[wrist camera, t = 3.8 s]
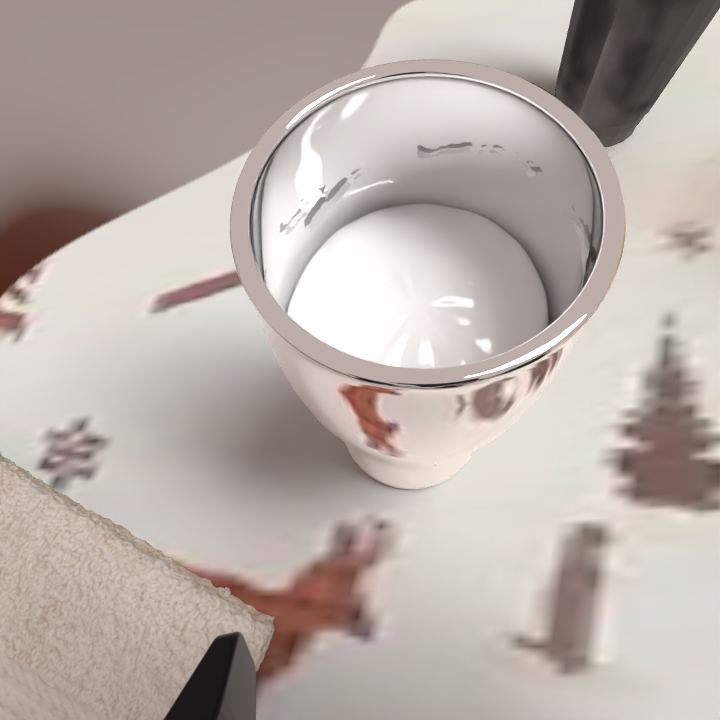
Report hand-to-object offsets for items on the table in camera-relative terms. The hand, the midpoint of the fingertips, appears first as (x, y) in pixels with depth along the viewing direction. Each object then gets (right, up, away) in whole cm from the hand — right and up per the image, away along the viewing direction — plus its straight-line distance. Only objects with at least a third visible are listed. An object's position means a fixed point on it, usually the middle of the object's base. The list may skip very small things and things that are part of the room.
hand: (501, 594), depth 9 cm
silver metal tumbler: (0, +1, +14) cm, 14 cm away
